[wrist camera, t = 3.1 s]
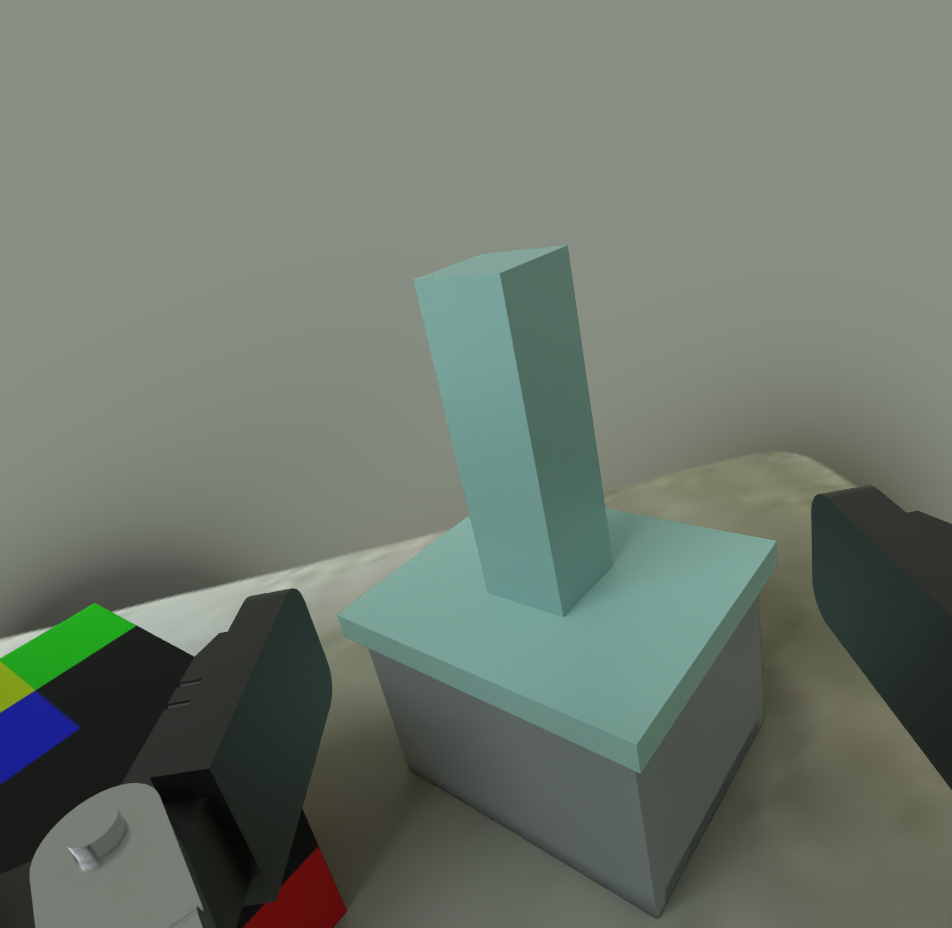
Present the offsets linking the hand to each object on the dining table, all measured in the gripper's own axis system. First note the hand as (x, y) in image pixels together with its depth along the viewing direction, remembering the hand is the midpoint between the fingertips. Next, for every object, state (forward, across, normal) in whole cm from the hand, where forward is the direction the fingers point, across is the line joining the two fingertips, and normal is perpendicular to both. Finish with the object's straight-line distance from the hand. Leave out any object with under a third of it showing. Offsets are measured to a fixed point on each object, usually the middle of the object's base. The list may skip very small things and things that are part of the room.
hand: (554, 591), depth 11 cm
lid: (+11, 0, +8) cm, 14 cm away
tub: (+11, 0, +15) cm, 19 cm away
